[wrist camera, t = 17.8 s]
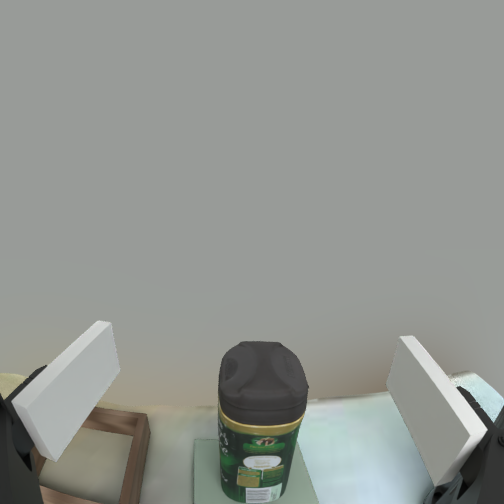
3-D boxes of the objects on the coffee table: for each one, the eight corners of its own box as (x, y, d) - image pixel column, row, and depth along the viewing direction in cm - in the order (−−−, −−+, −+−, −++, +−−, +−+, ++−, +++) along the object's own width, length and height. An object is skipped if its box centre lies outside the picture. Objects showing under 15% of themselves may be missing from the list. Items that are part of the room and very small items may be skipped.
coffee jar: (220, 449, 33) (220, 331, 29) (279, 449, 34) (299, 333, 30) (218, 506, 24) (214, 392, 20) (289, 505, 24) (322, 391, 20)
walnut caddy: (150, 432, 35) (146, 413, 34) (135, 529, 19) (126, 515, 18) (60, 417, 33) (52, 398, 32) (22, 496, 17) (8, 478, 16)
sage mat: (294, 438, 36) (295, 435, 36) (320, 514, 23) (322, 512, 23) (195, 442, 35) (194, 439, 34) (194, 525, 21) (194, 522, 21)
